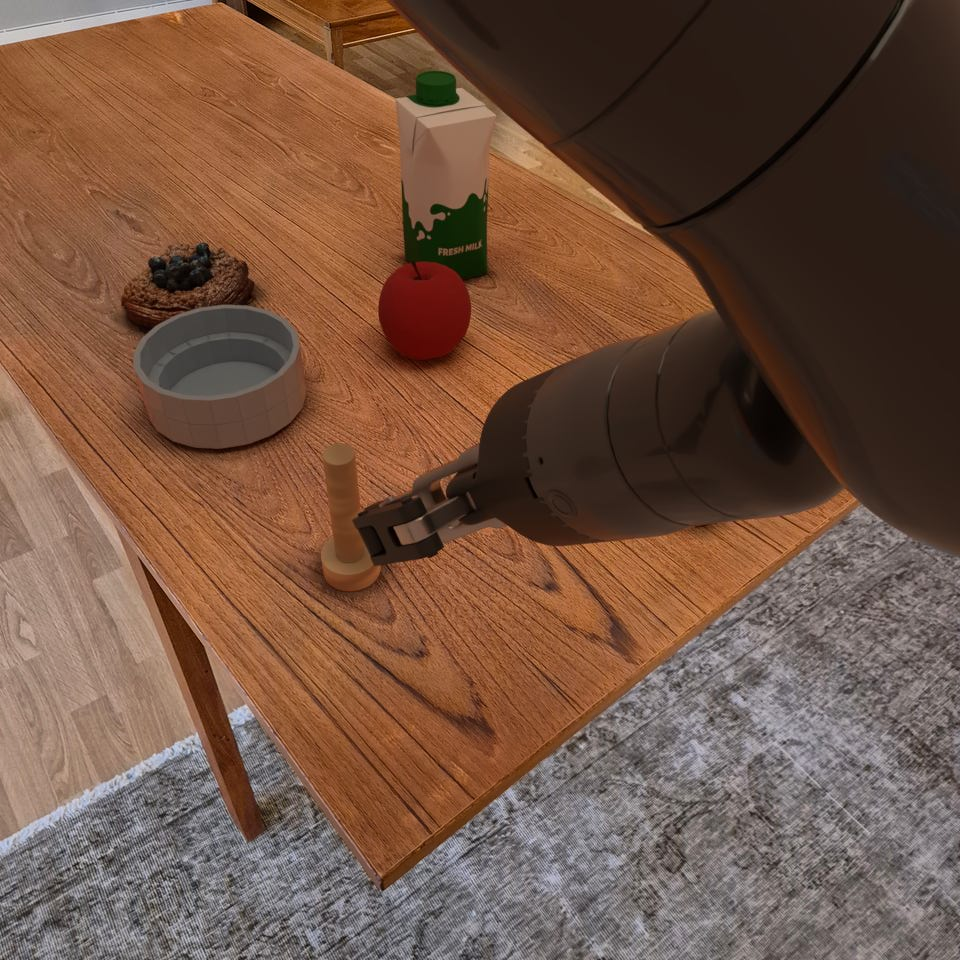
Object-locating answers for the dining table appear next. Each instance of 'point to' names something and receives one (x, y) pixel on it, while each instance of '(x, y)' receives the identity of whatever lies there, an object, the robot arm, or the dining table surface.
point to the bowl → (221, 375)
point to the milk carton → (445, 174)
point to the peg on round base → (345, 524)
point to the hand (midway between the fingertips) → (440, 490)
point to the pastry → (186, 284)
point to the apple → (424, 310)
